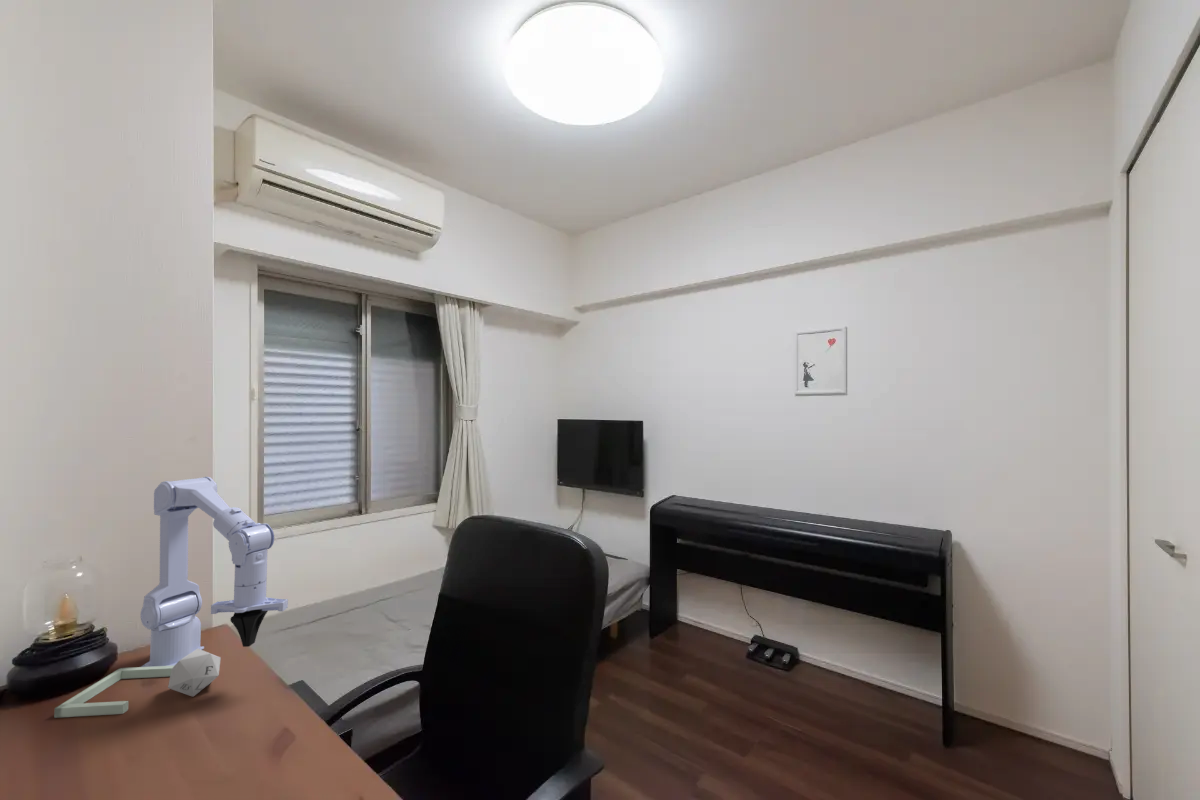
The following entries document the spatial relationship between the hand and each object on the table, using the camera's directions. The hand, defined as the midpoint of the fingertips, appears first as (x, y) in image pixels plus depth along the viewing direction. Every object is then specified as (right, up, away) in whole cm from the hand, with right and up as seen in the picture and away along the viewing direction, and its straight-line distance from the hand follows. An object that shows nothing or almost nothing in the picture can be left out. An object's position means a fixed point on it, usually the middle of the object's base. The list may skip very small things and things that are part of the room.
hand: (248, 644), depth 103 cm
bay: (-25, -9, -3) cm, 26 cm away
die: (-11, -9, -1) cm, 14 cm away
